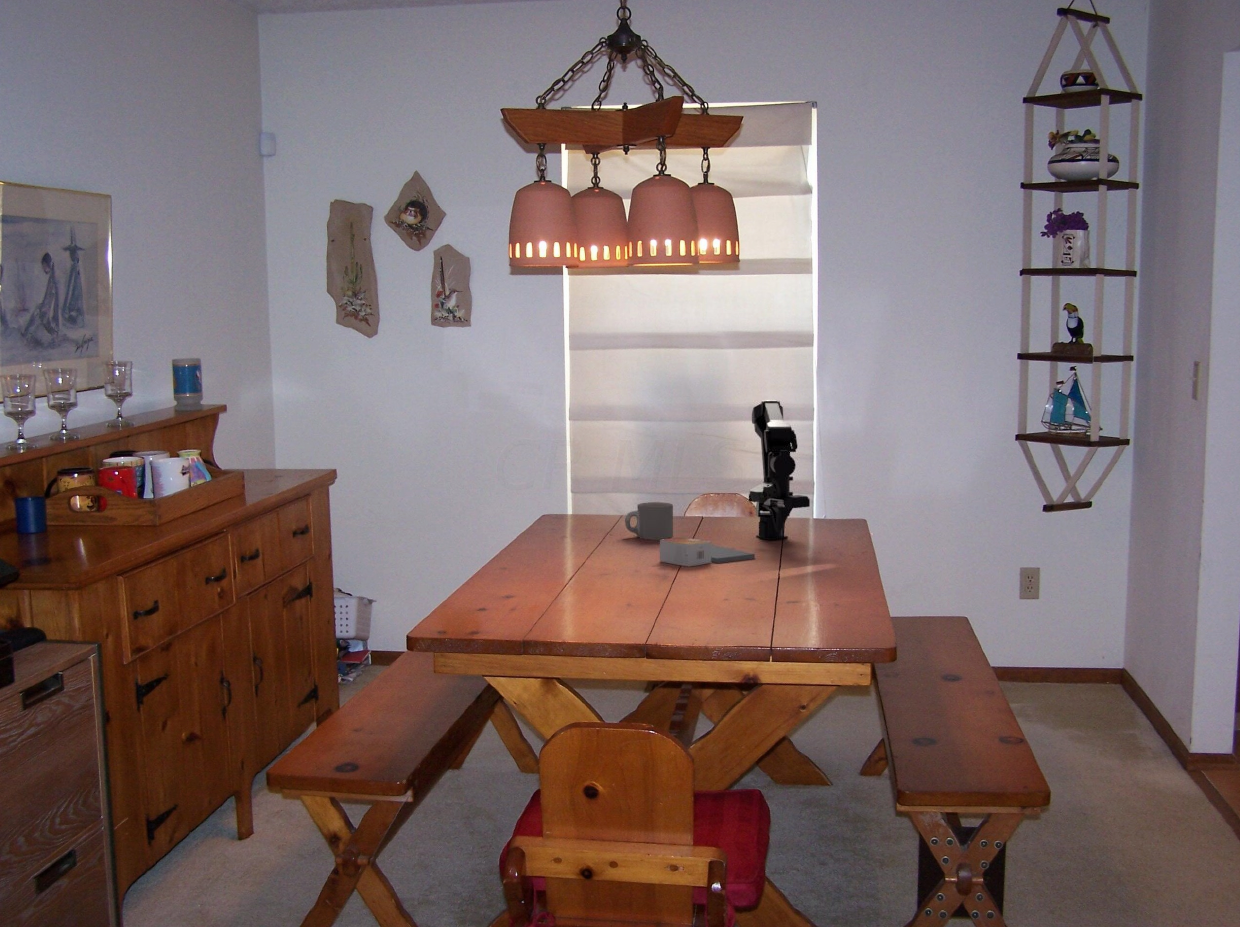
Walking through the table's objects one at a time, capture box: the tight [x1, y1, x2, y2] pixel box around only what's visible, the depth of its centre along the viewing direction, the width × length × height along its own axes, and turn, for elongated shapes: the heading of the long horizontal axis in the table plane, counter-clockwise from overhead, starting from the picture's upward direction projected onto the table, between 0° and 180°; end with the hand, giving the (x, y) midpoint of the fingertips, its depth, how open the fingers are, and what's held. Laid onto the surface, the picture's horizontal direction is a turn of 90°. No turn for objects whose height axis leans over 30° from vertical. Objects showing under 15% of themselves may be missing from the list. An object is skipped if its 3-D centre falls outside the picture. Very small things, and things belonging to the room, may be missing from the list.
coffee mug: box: [624, 501, 674, 541], centre depth 325 cm, size 13×10×10 cm
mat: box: [711, 544, 756, 564], centre depth 298 cm, size 12×18×1 cm, turn 33°
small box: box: [659, 536, 712, 567], centre depth 289 cm, size 8×6×10 cm
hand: (778, 531), depth 310 cm, fingers closed
